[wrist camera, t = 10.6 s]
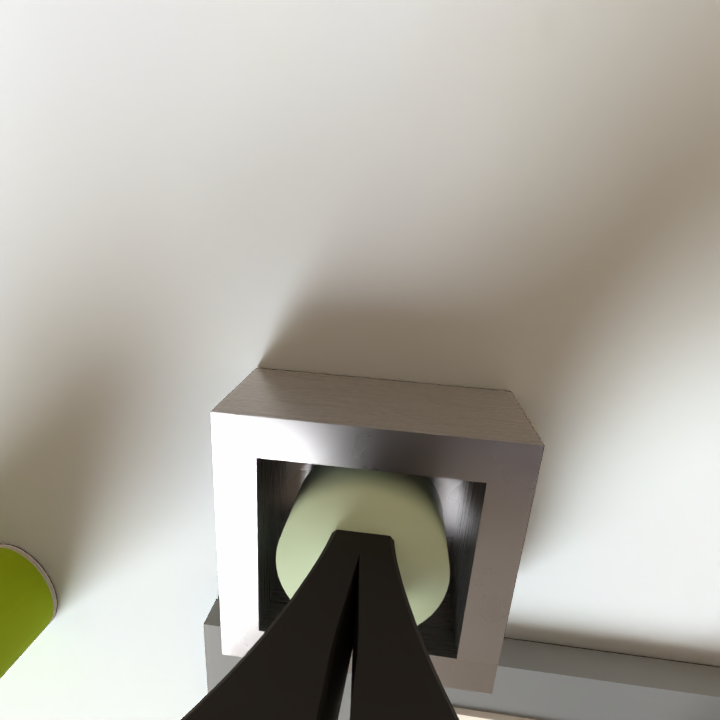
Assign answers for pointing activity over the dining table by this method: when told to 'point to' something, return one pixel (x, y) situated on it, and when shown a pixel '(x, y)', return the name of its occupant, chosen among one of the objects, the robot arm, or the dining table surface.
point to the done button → (370, 528)
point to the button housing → (387, 454)
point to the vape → (22, 603)
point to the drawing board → (554, 684)
